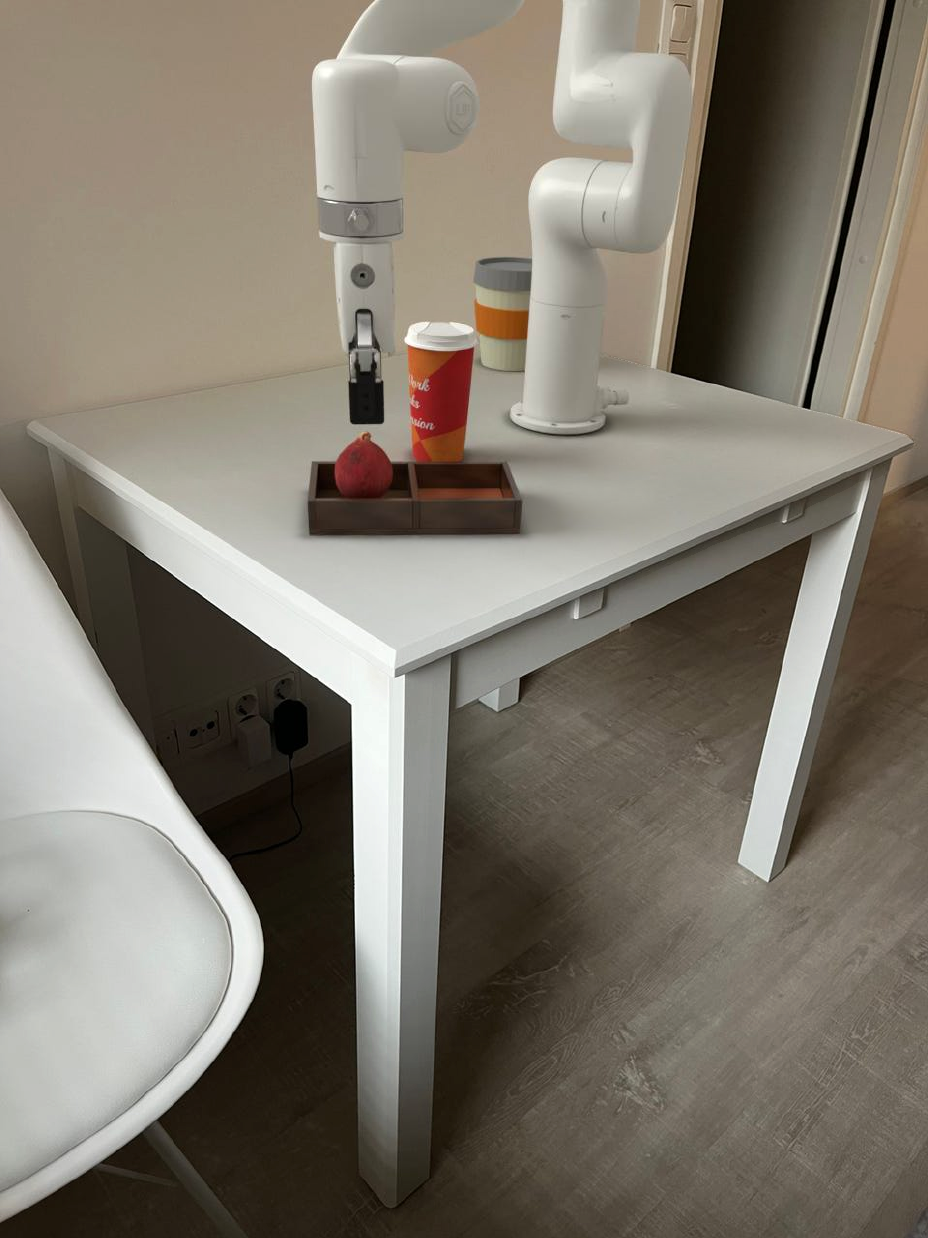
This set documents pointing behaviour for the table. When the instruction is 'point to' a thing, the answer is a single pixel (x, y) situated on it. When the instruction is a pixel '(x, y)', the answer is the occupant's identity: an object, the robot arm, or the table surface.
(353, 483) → the red round fruit
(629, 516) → the table surface
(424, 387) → the coffee cup
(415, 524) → the organizer
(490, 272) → the reusable coffee cup
